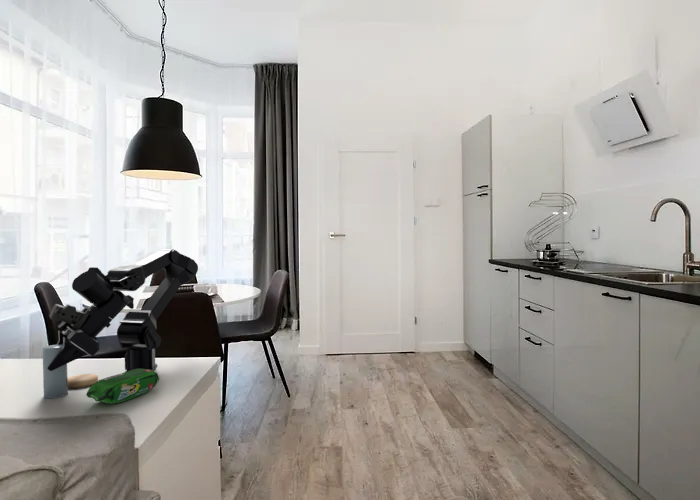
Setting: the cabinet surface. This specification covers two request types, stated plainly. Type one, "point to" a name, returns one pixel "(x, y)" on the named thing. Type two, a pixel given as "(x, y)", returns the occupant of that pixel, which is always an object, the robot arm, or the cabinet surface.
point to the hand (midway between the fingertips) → (47, 367)
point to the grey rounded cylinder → (54, 374)
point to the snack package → (123, 386)
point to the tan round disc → (82, 380)
